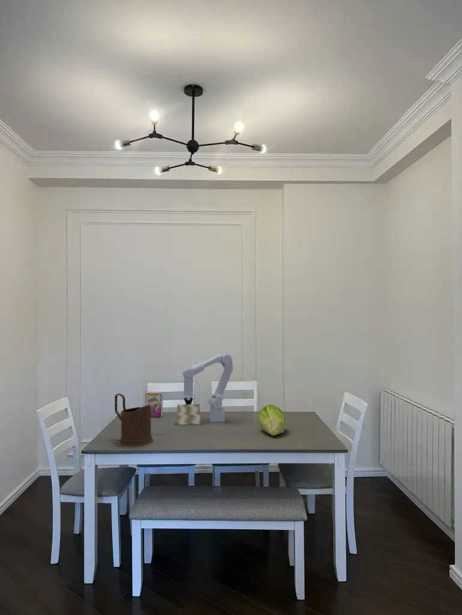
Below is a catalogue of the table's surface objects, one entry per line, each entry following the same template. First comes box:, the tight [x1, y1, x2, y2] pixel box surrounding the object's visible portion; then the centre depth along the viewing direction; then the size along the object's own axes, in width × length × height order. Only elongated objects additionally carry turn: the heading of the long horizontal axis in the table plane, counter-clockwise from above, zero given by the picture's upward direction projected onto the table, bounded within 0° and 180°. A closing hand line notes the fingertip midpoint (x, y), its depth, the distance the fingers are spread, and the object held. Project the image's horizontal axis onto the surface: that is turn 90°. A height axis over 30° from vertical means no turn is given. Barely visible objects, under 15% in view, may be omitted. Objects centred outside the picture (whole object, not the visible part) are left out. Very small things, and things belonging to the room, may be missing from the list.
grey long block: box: [174, 420, 204, 426], centre depth 296 cm, size 17×2×3 cm, turn 96°
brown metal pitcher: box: [114, 393, 154, 447], centre depth 264 cm, size 18×24×25 cm
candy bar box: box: [144, 391, 164, 418], centre depth 324 cm, size 11×5×16 cm, turn 84°
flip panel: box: [176, 403, 201, 426], centre depth 297 cm, size 14×1×12 cm, turn 96°
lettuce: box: [257, 404, 287, 436], centre depth 279 cm, size 15×25×16 cm
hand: (188, 409), depth 301 cm, fingers closed
